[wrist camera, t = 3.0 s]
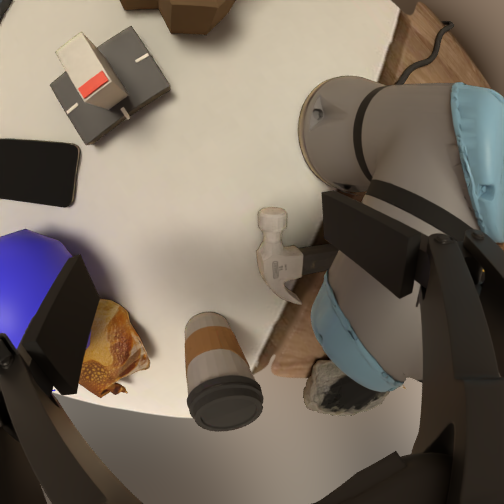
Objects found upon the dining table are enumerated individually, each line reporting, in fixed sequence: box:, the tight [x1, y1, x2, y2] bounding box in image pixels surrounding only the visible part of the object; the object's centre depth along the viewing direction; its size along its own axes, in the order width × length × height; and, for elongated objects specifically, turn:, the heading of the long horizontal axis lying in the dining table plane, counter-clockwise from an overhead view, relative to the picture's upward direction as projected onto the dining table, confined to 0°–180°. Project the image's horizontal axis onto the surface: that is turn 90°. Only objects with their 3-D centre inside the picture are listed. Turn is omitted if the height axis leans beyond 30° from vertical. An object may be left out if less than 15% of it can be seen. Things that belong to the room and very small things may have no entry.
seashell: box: [79, 299, 150, 398], centre depth 32 cm, size 17×8×15 cm
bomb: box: [0, 229, 91, 391], centre depth 21 cm, size 16×15×18 cm
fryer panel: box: [50, 26, 170, 145], centre depth 21 cm, size 10×10×3 cm
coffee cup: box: [185, 312, 263, 431], centre depth 32 cm, size 8×8×15 cm
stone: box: [303, 360, 390, 416], centre depth 48 cm, size 15×28×10 cm
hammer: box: [256, 207, 339, 304], centre depth 38 cm, size 13×3×30 cm
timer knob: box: [56, 32, 129, 110], centre depth 16 cm, size 6×2×8 cm, turn 29°
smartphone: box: [0, 138, 80, 207], centre depth 22 cm, size 7×1×15 cm
